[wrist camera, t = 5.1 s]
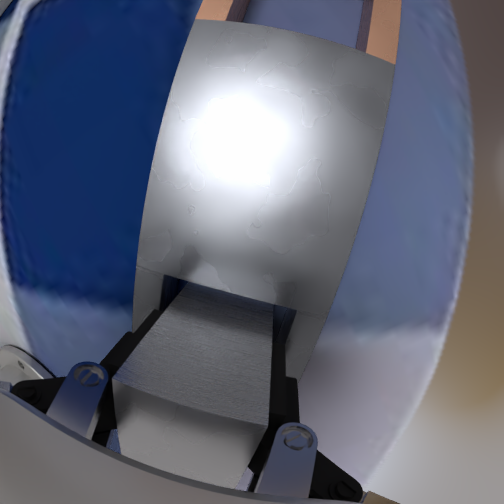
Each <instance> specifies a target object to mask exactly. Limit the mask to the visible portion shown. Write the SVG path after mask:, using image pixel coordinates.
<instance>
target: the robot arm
mask: <svg viewBox="0 0 504 504" xmlns="http://www.w3.org/2000/svg"><path fill="white" fill-rule="evenodd" d="M163 313H164V312H163V311H160V310H156V309H154V310H153V311H152V312H151V313H150V314H149V316H148V317H147V318H146V319H145V320H144V321H143V323H142V324H141V325H140V326H139V327H138V329H137V330H136V331H135V332H134V333H133V332H130V331H129V332H127V333H126V334H125V335H124V336H123V337H122V338H121V339H120V341H119V342H118V343H117V344H116V345H115V346H114V347H113V349H112V350H111V351H110V352H109V353H108V354H107V356H106V357H105V358H104V359H103V360H102V361H101V363H100V364H97V363H94V362H81V363H78V364H76V365H74V366H73V367H72V369H71V370H70V372H69V373H68V375H67V377H58V378H54V377H53V376H52V375H51V374H50V373H48V372H47V371H46V370H45V369H44V368H43V367H42V366H41V365H40V364H39V363H38V362H36V361H35V360H34V359H33V358H32V357H30V356H29V355H27V354H26V353H25V352H23V351H21V350H19V349H17V348H15V347H12V346H3V347H1V348H0V504H400V503H397V502H395V501H392V500H389V499H387V498H385V497H382V496H380V495H378V494H375V493H373V492H371V491H368V492H367V493H366V492H364V491H363V490H362V487H361V485H360V483H359V482H357V481H356V480H355V479H354V478H353V477H351V476H350V475H349V474H347V473H346V472H345V471H343V470H342V469H341V468H339V467H338V466H337V465H335V464H334V463H333V462H332V461H330V460H329V459H328V458H327V457H325V456H324V455H323V454H322V453H320V452H319V451H318V450H317V444H318V440H317V436H316V434H315V433H314V432H313V430H312V429H310V428H309V427H307V426H306V425H303V424H301V423H300V420H299V402H298V385H297V379H296V378H293V377H288V376H286V353H285V345H283V344H279V343H275V342H272V355H271V378H270V398H269V417H268V427H267V429H266V431H265V433H264V435H263V437H262V439H261V441H260V443H259V445H258V447H257V449H256V451H255V453H254V455H253V457H252V459H251V460H250V462H249V464H248V466H247V467H248V468H249V469H250V470H251V471H252V472H253V474H252V477H251V479H250V482H249V484H248V487H247V489H246V491H241V490H235V489H230V488H225V487H221V486H216V485H212V484H208V483H204V482H200V481H196V480H192V479H189V478H185V477H182V476H178V475H175V474H172V473H169V472H166V471H163V470H160V469H157V468H154V467H151V466H148V465H146V464H143V463H141V462H138V461H135V460H133V459H130V458H128V457H126V456H123V455H121V454H119V453H116V452H114V451H112V450H110V449H109V448H110V445H111V441H112V438H113V434H114V429H117V423H116V415H115V406H114V396H113V385H112V378H113V377H114V375H115V374H116V373H117V371H118V370H119V369H120V367H121V366H122V365H123V364H124V362H125V361H126V360H127V358H128V357H129V356H130V354H131V353H132V352H133V351H134V349H135V348H136V347H137V345H138V344H139V343H140V342H141V340H142V339H143V338H144V337H145V335H146V334H147V333H148V331H149V330H150V329H151V328H152V326H153V325H154V324H155V323H156V321H157V320H158V319H159V318H160V316H161V315H162V314H163Z"/></svg>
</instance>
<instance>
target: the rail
mask: <svg viewBox="0 0 504 504" xmlns="http://www.w3.org/2000/svg"><path fill="white" fill-rule="evenodd" d="M249 2H250V0H203V2H202V4H201V7H200V9H199V11H198V14H197V16H196V19H195V21H194V24H193V26H192V29H191V32H190V34H189V37H188V40H187V42H186V45H185V48H184V51H183V53H182V56H181V59H180V62H179V65H178V68H177V71H176V75H175V78H174V81H173V84H172V87H171V91H170V94H169V98H168V101H167V105H166V108H165V112H164V116H163V120H162V124H161V128H160V132H159V136H158V140H157V144H156V149H155V153H154V158H153V162H152V167H151V172H150V177H149V182H148V188H147V193H146V199H145V205H144V211H143V218H142V225H141V232H140V239H139V247H138V256H137V265H136V276H135V287H134V301H133V319H132V332H133V333H134V332H135V331H136V330H137V329H138V327H139V326H140V325H141V324H142V323H143V321H144V320H145V319H146V318H147V317H148V316H149V314H150V313H151V312H152V311H153V310H154V309H156V310H160V311H163V312H164V311H165V310H166V309H167V308H168V306H169V305H170V304H171V303H172V301H173V300H174V299H175V298H176V294H177V287H178V281H179V279H183V280H186V281H190V282H193V283H197V284H200V285H204V286H207V287H211V288H214V289H218V290H222V291H225V292H229V293H233V294H236V295H240V296H244V297H248V298H252V299H255V300H259V301H263V302H267V303H271V304H275V305H279V306H283V307H287V310H286V313H285V316H284V319H283V322H282V325H281V328H280V330H279V333H278V336H277V339H276V342H275V343H279V344H283V345H285V353H286V376H288V377H293V378H296V379H297V385H298V383H299V380H300V378H301V376H302V374H303V372H304V370H305V367H306V365H307V363H308V361H309V358H310V356H311V354H312V352H313V349H314V347H315V345H316V342H317V340H318V338H319V335H320V333H321V330H322V328H323V325H324V323H325V321H326V318H327V316H328V313H329V310H330V308H331V305H332V303H333V300H334V297H335V295H336V292H337V289H338V287H339V284H340V281H341V278H342V276H343V273H344V270H345V267H346V264H347V261H348V258H349V255H350V252H351V249H352V246H353V243H354V240H355V237H356V234H357V231H358V227H359V224H360V221H361V218H362V214H363V211H364V207H365V204H366V200H367V197H368V193H369V189H370V186H371V182H372V178H373V174H374V170H375V166H376V162H377V158H378V154H379V150H380V145H381V141H382V136H383V132H384V127H385V122H386V117H387V112H388V107H389V101H390V96H391V90H392V84H393V77H394V70H395V63H396V56H397V47H398V38H399V28H400V15H401V0H364V2H363V9H362V15H361V21H360V27H359V33H358V39H357V44H356V49H354V48H351V47H348V46H345V45H342V44H339V43H335V42H332V41H329V40H325V39H322V38H318V37H314V36H310V35H306V34H302V33H298V32H294V31H289V30H284V29H279V28H274V27H268V26H262V25H256V24H248V23H242V21H243V19H244V16H245V13H246V10H247V7H248V5H249Z"/></svg>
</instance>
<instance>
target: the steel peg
mask: <svg viewBox="0 0 504 504" xmlns="http://www.w3.org/2000/svg"><path fill="white" fill-rule="evenodd" d="M272 329H273V304H271V303H267V302H263V301H259V300H255V299H252V298H248V297H244V296H240V295H236V294H233V293H229V292H225V291H222V290H218V289H214V288H211V287H207V286H204V285H200V284H197V283H193V282H190V281H189V282H188V283H187V284H186V286H185V287H184V288H183V289H182V290H181V292H180V293H179V294H178V295H177V297H176V298H175V299H174V300H173V301H172V303H171V304H170V305H169V306H168V308H167V309H166V310H165V311H164V313H163V314H162V315H161V316H160V318H159V319H158V320H157V321H156V323H155V324H154V325H153V326H152V328H151V329H150V330H149V331H148V333H147V334H146V335H145V337H144V338H143V339H142V340H141V342H140V343H139V344H138V345H137V347H136V348H135V349H134V351H133V352H132V353H131V354H130V356H129V357H128V358H127V360H126V361H125V362H124V364H123V365H122V366H121V367H120V369H119V370H118V371H117V373H116V374H115V375H114V377H113V378H112V385H113V396H114V406H115V415H116V423H117V430H118V437H119V443H120V449H121V454H122V455H124V456H126V457H129V458H131V459H134V460H136V461H139V462H141V463H144V464H146V465H149V466H152V467H155V468H158V469H160V470H163V471H166V472H170V473H173V474H176V475H179V476H183V477H186V478H190V479H193V480H197V481H201V482H205V483H209V484H213V485H218V486H222V487H227V488H232V489H235V488H236V486H237V484H238V482H239V481H240V479H241V477H242V475H243V473H244V472H245V470H246V468H247V466H248V464H249V462H250V460H251V459H252V457H253V455H254V453H255V451H256V449H257V447H258V445H259V443H260V441H261V439H262V437H263V435H264V433H265V431H266V429H267V427H268V417H269V398H270V378H271V355H272Z"/></svg>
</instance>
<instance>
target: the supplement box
mask: <svg viewBox="0 0 504 504" xmlns="http://www.w3.org/2000/svg"><path fill="white" fill-rule="evenodd" d="M11 1H12V0H0V16H1V15H2V13H3V12H4V10H5V9H6V8H7V7H8V5H9V4H10V3H11Z"/></svg>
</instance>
